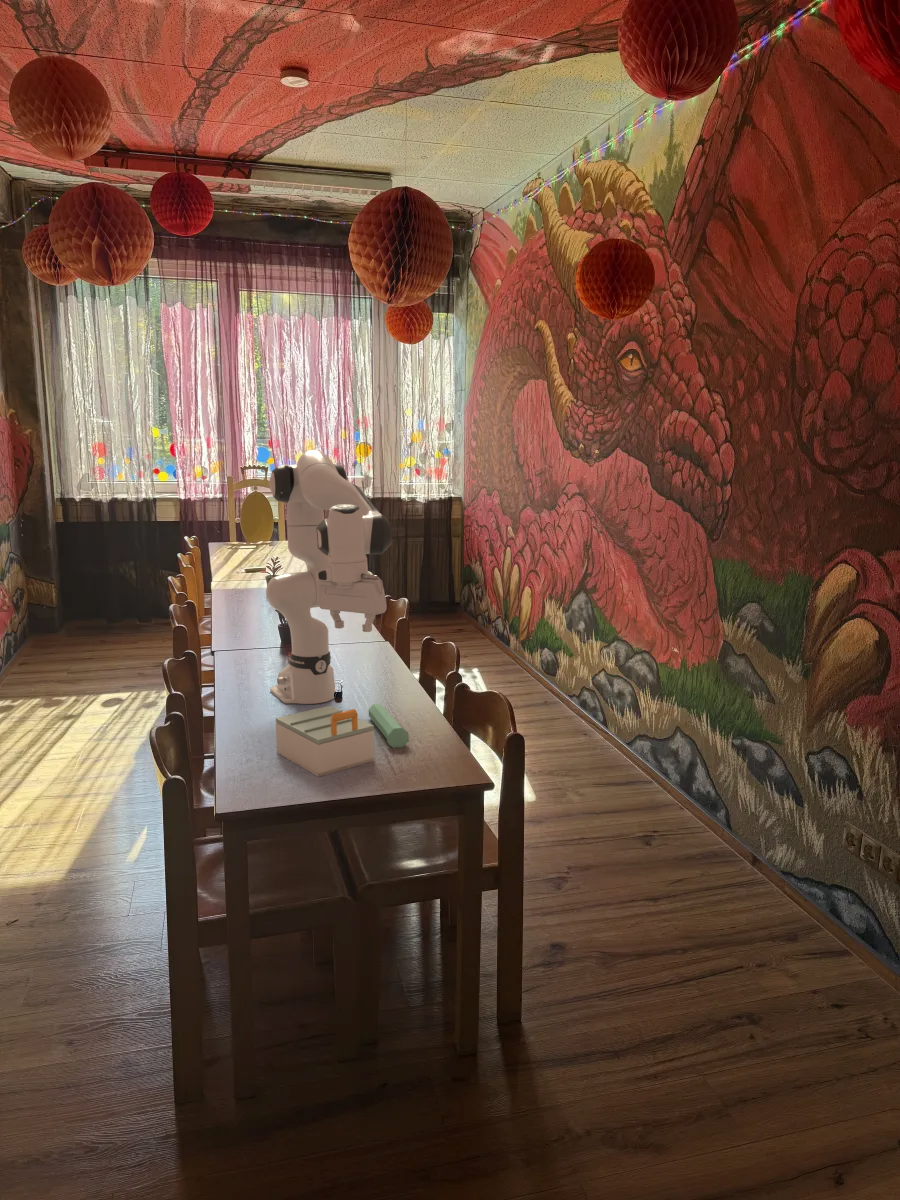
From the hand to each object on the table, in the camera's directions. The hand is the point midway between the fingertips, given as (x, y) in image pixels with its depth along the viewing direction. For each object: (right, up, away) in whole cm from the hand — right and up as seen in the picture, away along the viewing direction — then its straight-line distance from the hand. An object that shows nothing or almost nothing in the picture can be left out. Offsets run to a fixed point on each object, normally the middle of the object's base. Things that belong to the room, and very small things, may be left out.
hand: (353, 629), depth 208 cm
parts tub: (-8, -32, +8) cm, 34 cm away
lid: (-8, -24, +7) cm, 26 cm away
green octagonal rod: (+6, -29, +27) cm, 40 cm away
